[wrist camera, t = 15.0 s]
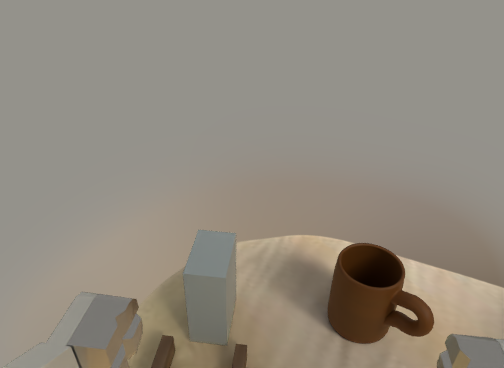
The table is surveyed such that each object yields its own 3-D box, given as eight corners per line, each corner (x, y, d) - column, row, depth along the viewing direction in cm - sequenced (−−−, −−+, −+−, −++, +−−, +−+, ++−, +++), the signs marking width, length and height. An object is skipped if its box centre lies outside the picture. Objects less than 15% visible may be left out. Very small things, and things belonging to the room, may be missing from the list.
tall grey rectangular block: (236, 298, 52) (236, 233, 46) (227, 345, 46) (225, 278, 40) (202, 294, 52) (198, 229, 46) (189, 341, 46) (182, 273, 40)
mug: (434, 350, 46) (459, 294, 41) (394, 389, 42) (416, 332, 37) (353, 286, 54) (366, 233, 49) (313, 314, 50) (322, 259, 45)
